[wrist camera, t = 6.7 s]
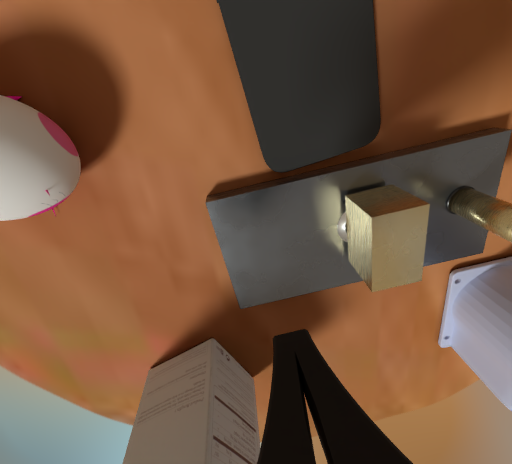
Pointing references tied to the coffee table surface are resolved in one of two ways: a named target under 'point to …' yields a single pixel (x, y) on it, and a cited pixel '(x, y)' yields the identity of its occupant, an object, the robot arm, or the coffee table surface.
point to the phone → (306, 75)
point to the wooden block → (386, 236)
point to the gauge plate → (334, 215)
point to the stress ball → (33, 161)
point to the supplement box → (196, 412)
